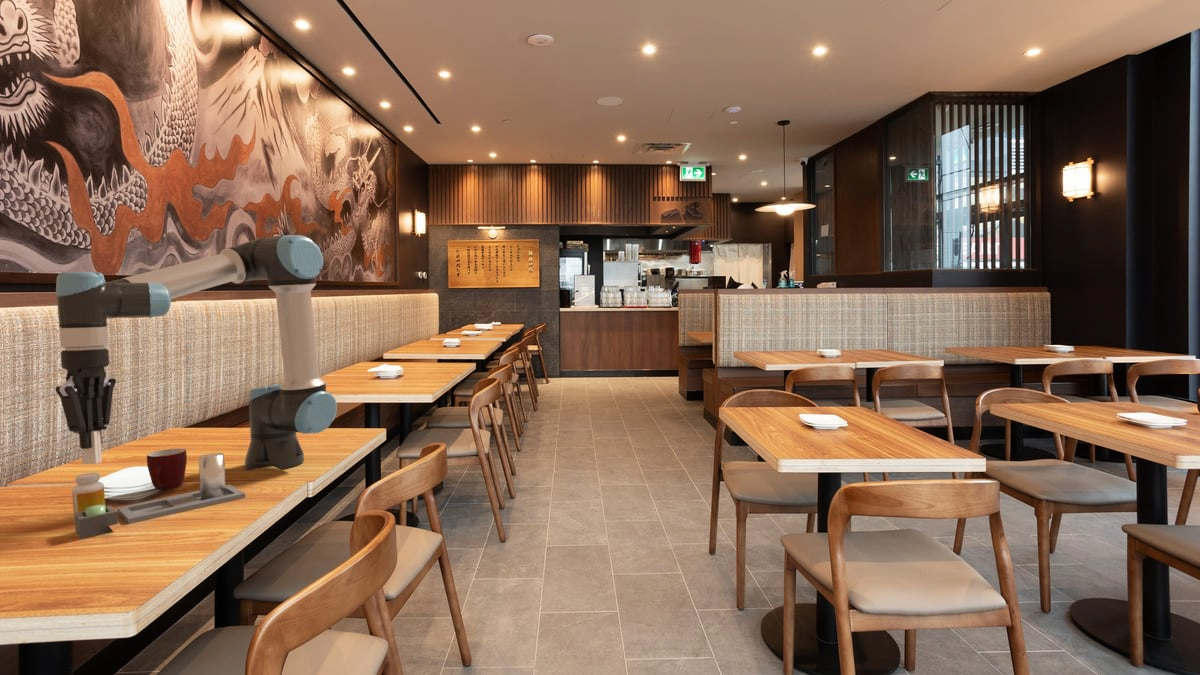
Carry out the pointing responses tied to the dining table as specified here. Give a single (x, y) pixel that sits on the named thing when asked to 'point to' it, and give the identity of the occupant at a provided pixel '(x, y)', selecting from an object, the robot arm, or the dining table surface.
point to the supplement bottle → (87, 492)
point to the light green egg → (95, 510)
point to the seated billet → (212, 475)
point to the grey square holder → (95, 523)
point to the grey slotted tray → (174, 505)
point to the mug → (167, 468)
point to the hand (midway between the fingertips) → (92, 462)
